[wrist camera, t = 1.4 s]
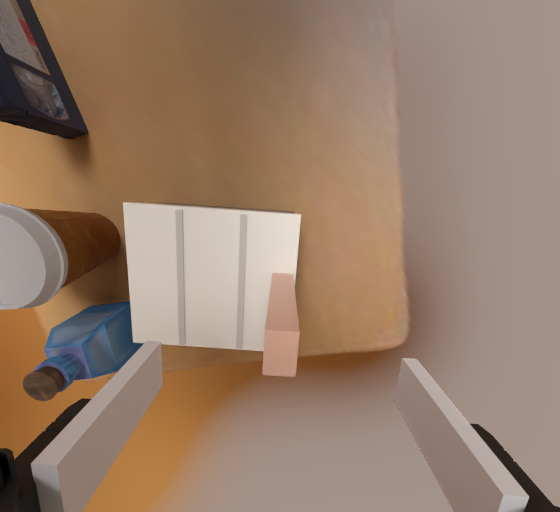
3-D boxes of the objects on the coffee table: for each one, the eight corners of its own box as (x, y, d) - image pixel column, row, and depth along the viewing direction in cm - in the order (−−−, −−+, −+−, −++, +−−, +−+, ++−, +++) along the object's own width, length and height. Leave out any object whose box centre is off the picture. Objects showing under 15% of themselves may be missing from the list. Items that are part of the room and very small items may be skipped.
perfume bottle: (103, 346, 37) (20, 416, 25) (90, 305, 35) (-5, 361, 24) (145, 341, 37) (81, 410, 25) (134, 300, 35) (60, 354, 23)
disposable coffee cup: (83, 283, 35) (-19, 329, 23) (43, 216, 33) (-91, 229, 21) (146, 258, 34) (73, 293, 22) (108, 187, 32) (7, 184, 20)
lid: (134, 201, 26) (-6, 209, 13) (299, 213, 26) (315, 231, 13) (142, 332, 29) (37, 436, 17) (288, 342, 30) (292, 454, 17)
